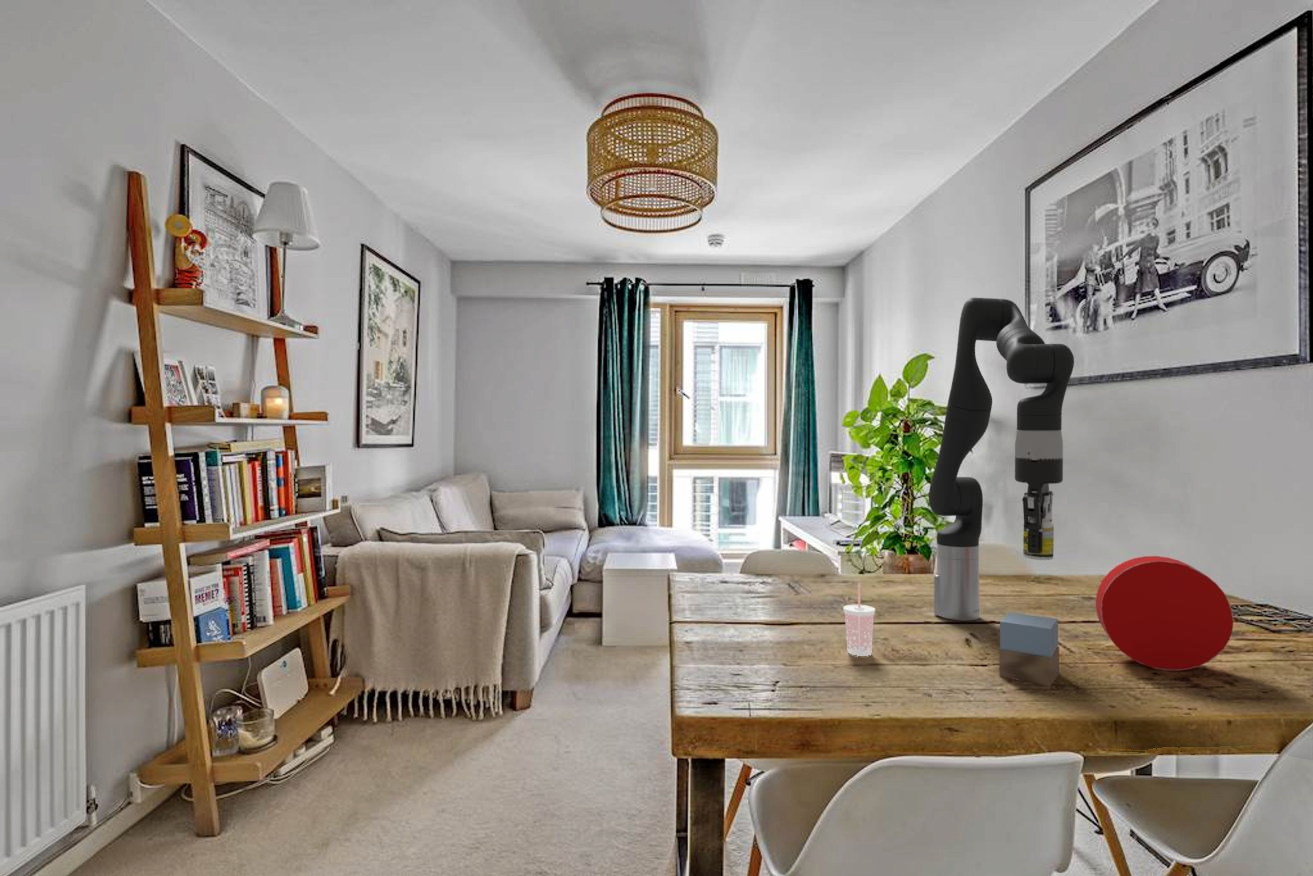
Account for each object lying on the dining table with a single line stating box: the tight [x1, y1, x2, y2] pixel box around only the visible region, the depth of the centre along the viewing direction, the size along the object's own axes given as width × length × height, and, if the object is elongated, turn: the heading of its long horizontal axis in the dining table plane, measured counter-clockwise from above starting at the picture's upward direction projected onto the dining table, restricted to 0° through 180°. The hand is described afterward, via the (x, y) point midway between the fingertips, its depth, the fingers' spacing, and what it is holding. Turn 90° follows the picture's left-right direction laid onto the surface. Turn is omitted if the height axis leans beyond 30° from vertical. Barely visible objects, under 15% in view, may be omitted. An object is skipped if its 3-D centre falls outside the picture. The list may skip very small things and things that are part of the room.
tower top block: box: [999, 611, 1059, 658], centre depth 125 cm, size 8×8×5 cm
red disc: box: [1095, 555, 1234, 671], centre depth 129 cm, size 20×6×20 cm, turn 66°
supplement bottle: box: [1022, 511, 1055, 561], centre depth 124 cm, size 5×5×8 cm
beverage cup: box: [842, 582, 876, 657], centre depth 137 cm, size 6×6×14 cm
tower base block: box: [998, 646, 1060, 687], centre depth 124 cm, size 8×8×5 cm
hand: (1037, 550), depth 124 cm, fingers closed on supplement bottle, 4 cm apart
